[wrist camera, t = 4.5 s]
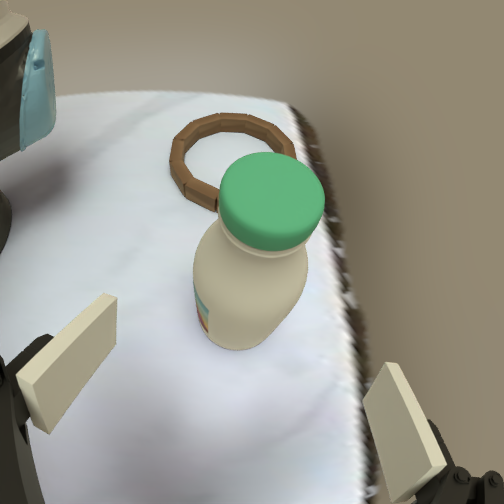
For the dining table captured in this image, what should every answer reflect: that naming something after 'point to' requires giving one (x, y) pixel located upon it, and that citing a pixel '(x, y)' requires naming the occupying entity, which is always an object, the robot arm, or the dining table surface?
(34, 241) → the dining table surface
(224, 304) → the milk bottle
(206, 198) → the walnut ring
